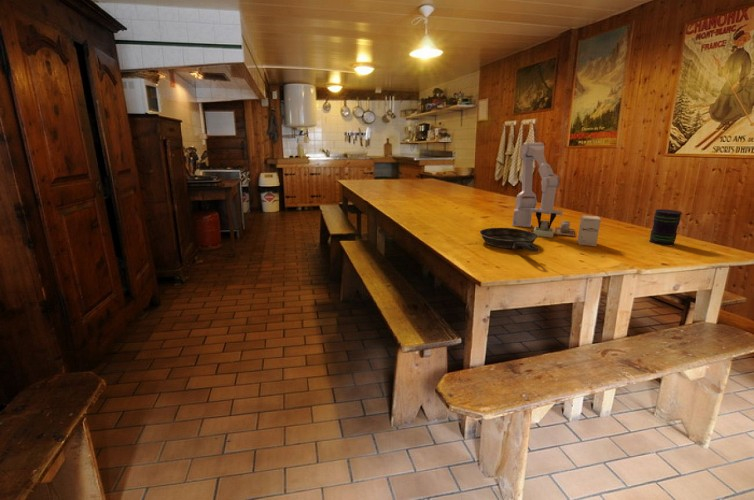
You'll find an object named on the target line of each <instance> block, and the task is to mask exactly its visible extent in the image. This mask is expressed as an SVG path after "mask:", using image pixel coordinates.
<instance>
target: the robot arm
mask: <svg viewBox="0 0 754 500" xmlns="http://www.w3.org/2000/svg"><path fill="white" fill-rule="evenodd" d="M544 152H545V144H544V143H543V142H528V141H526V142H524V143H523V144H522V146H521V147H520V159H522V177H521V179H522V180H521V191H520V192H519V193H518V194H517V195H516V199H515V207H516V208H514V209H513V216H512V224H511V225H512V226H514V227H521V228H522V227H524V228H531V227H532V218H533V214H535V217H536V220H537V225H538V226H537V227H538V228H540V223H541V220H542V214H545V215H550V217H549V228H548V229H550V228H551V226H552V223H553V222H554V220H555V218H556V217H557V215H560V216H563V212H564V211H563V210H557V209H554V205H555V197H556V190H557V188H559V185H560V178H559V177H560V176H558V175H556V174H555V173H554V171H553V169H552V167H551V165H550V164H549V163H547V161H546V160H547V159H546V156H545V153H544ZM534 161H536V163H537V165H538V169H537V171H538V173H539V176H540V178H541V180H540V181H541V182H540V184H541V185H540V186H541V192H542V194H541V202H540V208H537V204H538V200H537V194H535V192H534V191H533V173H534V172H533V170H534V169H533V168H534V167H533V166H534Z"/></svg>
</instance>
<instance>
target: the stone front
mask: <svg viewBox="0 0 754 500" xmlns="http://www.w3.org/2000/svg"><path fill="white" fill-rule="evenodd" d="M549 223H550V220H545V219H544V220H542V219H541V223H540V230H541V231H548V228H549Z"/></svg>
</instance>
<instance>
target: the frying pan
mask: <svg viewBox="0 0 754 500" xmlns="http://www.w3.org/2000/svg"><path fill="white" fill-rule="evenodd" d="M533 232H534V231H530V230H525V229H520V228H514V227H513V228H511V227H488V228H484V229H481V230H480V231H479V234H480V235H481V237H482V239H483V240H484V242H486V243H487V244H488V245H490V246H494V247H497V248H501V249H512V250H513V249H514V250H516V251H524V250H527V251H529V252H536V253H537V252H538V251H539V247H537V246H536V245H535V244H533V243H534V242H535V241H536V239H538V237H539V236H537V234H535V233H533Z"/></svg>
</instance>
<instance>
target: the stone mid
mask: <svg viewBox="0 0 754 500" xmlns="http://www.w3.org/2000/svg"><path fill="white" fill-rule="evenodd" d="M560 223H561V222H560ZM570 225H571V222H570V223H565V222H563V223H561V224H560V228H561V229H560V232H562V233H569V228H571V227H570Z"/></svg>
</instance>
